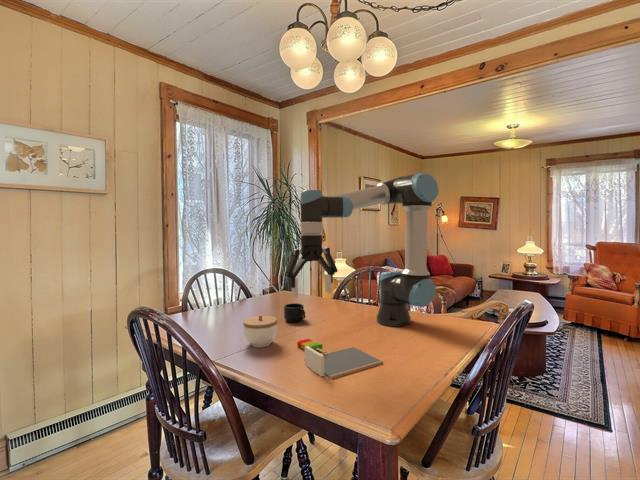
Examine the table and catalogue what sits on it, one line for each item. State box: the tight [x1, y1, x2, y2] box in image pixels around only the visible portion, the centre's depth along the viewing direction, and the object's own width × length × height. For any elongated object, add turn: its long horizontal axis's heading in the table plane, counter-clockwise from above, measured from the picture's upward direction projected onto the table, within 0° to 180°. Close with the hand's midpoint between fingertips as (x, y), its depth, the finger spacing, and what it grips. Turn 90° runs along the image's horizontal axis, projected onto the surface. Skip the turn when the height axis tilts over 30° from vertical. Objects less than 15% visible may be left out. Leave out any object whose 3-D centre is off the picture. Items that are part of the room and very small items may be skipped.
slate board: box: [304, 346, 384, 380], centre depth 114 cm, size 20×16×1 cm
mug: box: [283, 302, 306, 323], centre depth 161 cm, size 12×9×7 cm
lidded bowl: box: [243, 314, 278, 348], centre depth 131 cm, size 13×13×11 cm
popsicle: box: [296, 338, 327, 354], centre depth 124 cm, size 6×15×2 cm, turn 34°
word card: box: [304, 346, 325, 377], centre depth 108 cm, size 1×10×6 cm, turn 32°
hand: (312, 294), depth 123 cm, fingers open, 13 cm apart
